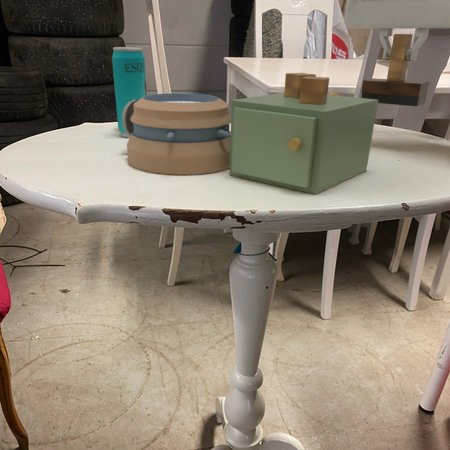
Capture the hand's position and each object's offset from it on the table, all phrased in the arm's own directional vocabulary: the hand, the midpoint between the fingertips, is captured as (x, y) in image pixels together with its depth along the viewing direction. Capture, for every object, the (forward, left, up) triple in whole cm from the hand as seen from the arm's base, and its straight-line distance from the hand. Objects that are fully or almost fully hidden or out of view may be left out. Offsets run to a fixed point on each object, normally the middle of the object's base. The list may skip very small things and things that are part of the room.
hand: (399, 60), depth 79 cm
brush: (0, 0, -7) cm, 7 cm away
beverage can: (+40, +24, -15) cm, 49 cm away
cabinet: (+2, +26, -14) cm, 30 cm away
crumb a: (0, +28, -4) cm, 28 cm away
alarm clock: (+22, +31, -15) cm, 41 cm away
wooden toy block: (+5, +24, -4) cm, 25 cm away
